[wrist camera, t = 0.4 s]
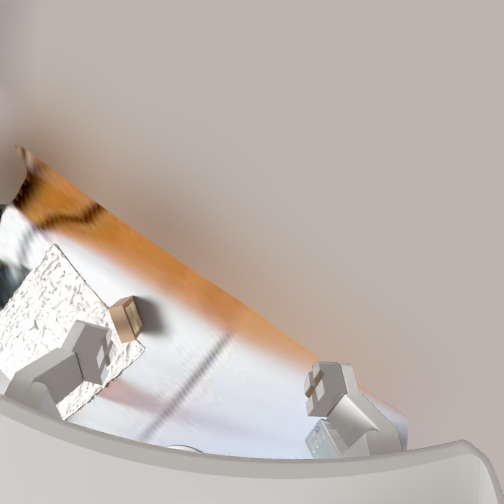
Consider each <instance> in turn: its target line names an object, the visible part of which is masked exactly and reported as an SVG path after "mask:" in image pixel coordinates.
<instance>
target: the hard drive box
mask: <svg viewBox="0 0 504 504" xmlns="http://www.w3.org/2000/svg"><path fill="white" fill-rule="evenodd" d="M306 443H307V445H308V447H309V450H310V452H311V454H312V457H313V459H330V458H340V456H341V455H342V454H343V453H344V452H345V451H346V450H347V449H349V447H348V446H347V445H346V443H345V442H344V441H343V439H342V438H341V437H340V435H339V434H338V433H337V431H336V430H335V429H334V427H333V426H332V425H331V423H330V422H328V421H324V420H320V421H319V422H318V423H317V425H316V426H315V428H314V429H313V430H312V432H311V433H310V435H309V436H308V437H307V439H306Z"/></svg>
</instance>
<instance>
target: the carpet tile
mask: <svg viewBox="0 0 504 504" xmlns="http://www.w3.org/2000/svg"><path fill="white" fill-rule="evenodd" d="M77 319H78V320H81V321H85V322H89V323H92V324H96V325H99V326H103V327H106V328H110V329H112V337H111V340H112V341H113V343H114V353H113V359H112V362H111V364H110V365H109V366H107V367H106V368H107V376H106V378H105V381H104V384H103V386H102V385H98V384H94V383H90V382H87V381H84V382H83V383H82V384H81V385H80V386H78V387H77V388H76V389H75V390H74V391H72V392H71V393H70V394H69V395H68V396H66V397H65V398H64V399H63V400H62V401H60V402H59V403H58V404H57V405H56V407H57V409H58V411H59V413H60V414H61V416H62V419H63V420H66V419H67V418H68V417H69V416H71V415H72V414H73V413H75V412H76V411H77V410H78V409H79V408H80V407H81V406H83V405H84V404H86V403H87V402H88V401H89V400H90V399H91V398H92V397H93V396H94V395H95V394H96V393H98V392H99V391H100V390H101V389H102V388H104V387H105V386H106V384H107V383H108V382H109V381H111V380H112V379H114V378H115V377H116V376H117V375H118V374H119V373H120V372H121V371H123V370H124V369H125V368H126V367H128V366H129V365H130V364H131V363H132V362H133V361H134V360H136V359H137V358H138V357H139V356H140V355H141V354H142V353H143V352H144V351H145V347H144V346H143V345H142V344H141V343H140V342H138V341H137V340H134V341H130V342H126V343H122V344H121V341H120V339H119V336H118V334H117V331H116V329H115V326H114V323H113V321H112V318H111V316H110V313H109V310H108V308H107V306H106V305H105V304H104V303H103V302H102V301H101V300H100V298H99V297H98V296H97V295H96V294H95V293H94V291H93V290H92V289H91V288H90V287H89V286H88V284H87V283H86V282H85V281H84V280H83V278H82V277H81V276H80V275H79V274H78V272H77V271H76V270H75V268H74V267H73V266H72V265H71V263H70V262H69V261H68V260H67V258H66V257H65V256H64V254H63V253H62V252H61V250H60V249H59V248H58V247H57V245H56V244H53V245H52V246H51V247H50V248H49V249H48V250H47V251H46V253H45V255H44V256H43V257H42V259H41V260H40V261H39V262H38V264H37V265H36V267H35V268H34V269H33V270H32V271H31V273H30V274H29V275H28V276H27V277H26V279H25V280H24V281H23V283H22V284H21V286H20V287H19V288H18V289H17V290H16V291H15V292H14V296H13V297H12V298H10V299H9V302H8V303H7V304H6V305H5V308H4V309H3V310H2V312H1V313H0V370H1V371H2V372H3V373H4V374H5V375H6V376H7V377H8V378H9V379H10V380H12V378H13V376H14V374H15V372H16V371H18V370H20V369H21V368H23V367H25V366H26V365H28V364H30V363H32V362H33V361H35V360H37V359H38V358H40V357H42V356H43V355H45V354H47V353H48V352H50V351H52V350H54V349H55V348H57V347H58V348H61V346H62V344H63V342H64V340H65V338H66V336H67V334H68V332H69V330H70V329H71V327H72V325H73V323H74V322H75V321H76V320H77Z"/></svg>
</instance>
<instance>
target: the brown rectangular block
mask: <svg viewBox="0 0 504 504" xmlns="http://www.w3.org/2000/svg"><path fill="white" fill-rule="evenodd" d="M108 310H109V313H110V316H111V318H112V321H113V323H114V326H115V329H116V331H117V334H118V336H119V339H120V341H121V344H122V343H126V342H130V341H134V340H136V339H137V337H138V336H139V334H140V333H141V331H142V330H143V328H144V325H143V322H142V320H141V317H140V314H139V311H138V309H137V306H136V303H135V300H134V297H133V296H129V297H126V298H122V299H120V300H119V301H117V302H116V303H115V304H114V305H113V306H111V307H110V308H109V309H108Z"/></svg>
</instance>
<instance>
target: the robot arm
mask: <svg viewBox="0 0 504 504" xmlns="http://www.w3.org/2000/svg"><path fill="white" fill-rule="evenodd" d="M111 337H112V329H110V328H106V327H103V326H99V325H96V324H92V323H89V322H85V321H81V320H78V319H77V320H76V321H75V322H74V323H73V325H72V327H71V329H70V330H69V332H68V334H67V336H66V338H65V340H64V342H63V344H62V346H61V348H58V347H57V348H55V349H54V350H52V351H50V352H48V353H47V354H45V355H43V356H42V357H40V358H38V359H37V360H35V361H33V362H32V363H30V364H28V365H26V366H25V367H23V368H21V369H20V370H18V371H16V372H15V374H14V376H13V378H12V380H11V382H10V384H9V386H8V388H7V390H6V392H5V394H4V395H2V394H0V504H504V495H503V492H502V489H501V486H500V483H499V480H498V478H497V475H496V473H495V470H494V468H493V466H492V464H491V462H490V460H489V459H488V457H487V456H486V455H484V453H482V452H481V451H480V450H479V449H477V448H476V447H475V446H474V445H473V444H471V443H470V442H468V441H466V440H458V441H454V442H450V443H445V444H441V445H436V446H431V447H426V448H421V449H415V450H409V451H403V449H402V445H401V442H400V438H399V435H398V431H397V428H396V427H395V426H394V425H393V424H392V423H391V422H390V421H389V420H388V419H387V418H386V417H385V416H384V415H383V414H382V413H381V412H380V411H379V410H378V409H377V408H376V407H375V406H374V405H373V404H372V403H371V402H370V401H369V400H368V399H367V398H366V397H365V396H364V395H363V394H359V390H358V386H357V383H356V379H355V376H354V372H353V369H352V366H351V364H350V363H337V362H322V361H316V362H315V363H314V364H313V366H312V369H313V371H311V372H310V373H308V375H307V377H306V380H305V384H304V390H305V395H306V396H307V397H308V398H309V399H308V401H307V403H306V405H307V412H308V416H317V417H327V419H328V421H329V422H330V423H331V425H332V426H333V427H334V429H335V430H336V431H337V433H338V434H339V435H340V437H341V438H342V439H343V441H344V442H345V443H346V445H347V446H348V447H349V449H347V450H346V451H345V452H344V453H343V454H342V455H341V456H340V458H330V459H267V458H249V457H236V456H226V455H216V454H208V453H201V452H199V451H197V450H195V449H193V448H190V447H185V446H170V447H163V446H158V445H153V444H148V443H144V442H139V441H135V440H131V439H126V438H122V437H118V436H115V435H111V434H107V433H104V432H100V431H97V430H93V429H90V428H87V427H84V426H80V425H77V424H74V423H71V422H68V421H65V420H63V419H62V416H61V414H60V413H59V411H58V409H57V407H56V405H57V404H58V403H59V402H60V401H62V400H63V399H64V398H65V397H66V396H68V395H69V394H70V393H71V392H72V391H74V390H75V389H76V388H77V387H78V386H80V385H81V384H82V383H83V382H84V381H87V382H90V383H94V384H98V385H102V386H103V384H104V381H105V378H106V376H107V368H106V367H107V366H109V365H110V364H111V362H112V359H113V353H114V343H113V341H112V340H111Z"/></svg>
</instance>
